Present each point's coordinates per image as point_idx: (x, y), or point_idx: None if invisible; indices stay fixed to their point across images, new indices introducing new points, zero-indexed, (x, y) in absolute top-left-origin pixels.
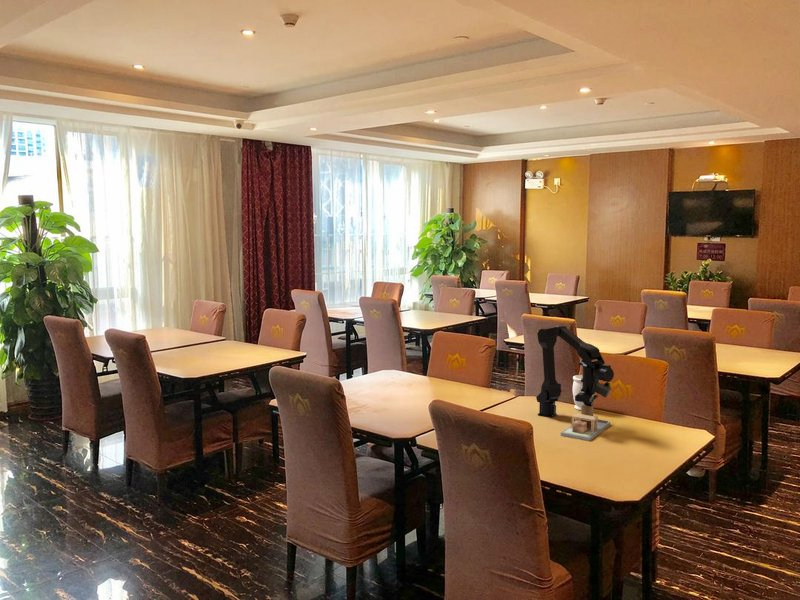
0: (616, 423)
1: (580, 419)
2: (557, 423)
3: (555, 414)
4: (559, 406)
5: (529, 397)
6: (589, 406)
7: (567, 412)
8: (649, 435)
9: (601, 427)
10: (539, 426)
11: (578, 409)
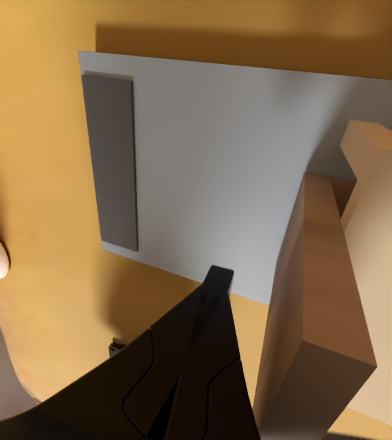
0: (42, 9)
1: (152, 263)
2: (242, 355)
3: (122, 347)
4: (25, 319)
5: (22, 378)
6: (335, 414)
7: (63, 301)
8: None
9: (285, 86)
10: (334, 431)
11: (7, 264)
